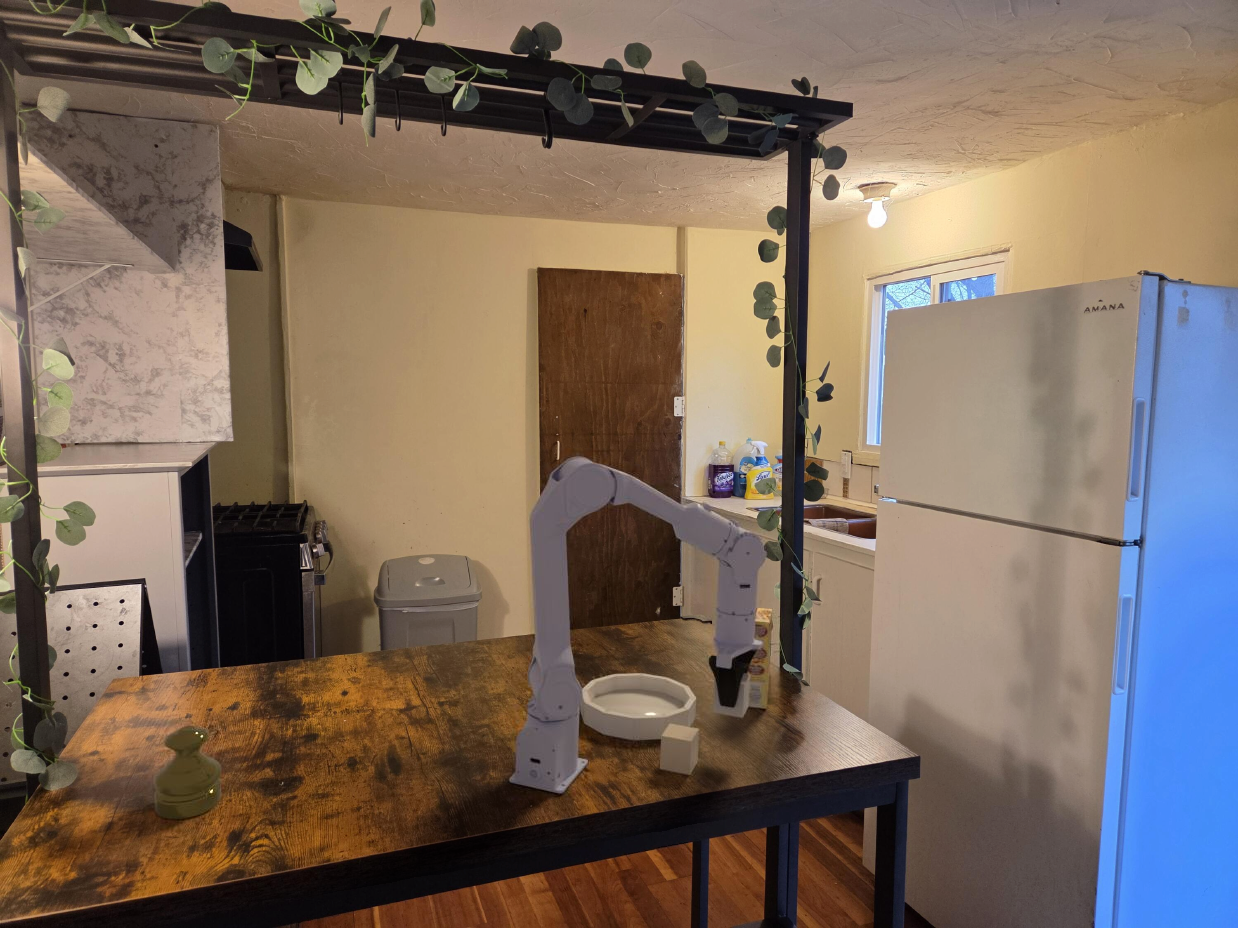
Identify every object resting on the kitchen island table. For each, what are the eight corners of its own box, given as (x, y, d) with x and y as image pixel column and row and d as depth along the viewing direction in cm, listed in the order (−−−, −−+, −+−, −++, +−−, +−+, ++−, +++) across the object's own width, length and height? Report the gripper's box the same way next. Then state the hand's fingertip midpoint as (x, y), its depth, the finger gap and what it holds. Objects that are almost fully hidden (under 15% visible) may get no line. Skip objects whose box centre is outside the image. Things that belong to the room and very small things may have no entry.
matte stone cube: (742, 717, 113) (744, 684, 113) (712, 712, 115) (714, 679, 114) (748, 706, 117) (750, 674, 117) (719, 701, 119) (721, 669, 118)
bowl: (676, 748, 118) (677, 726, 118) (563, 726, 124) (564, 705, 124) (705, 703, 135) (706, 683, 135) (605, 686, 142) (605, 667, 141)
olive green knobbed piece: (142, 821, 94) (140, 742, 93) (171, 789, 101) (169, 715, 100) (206, 820, 95) (205, 741, 94) (231, 788, 102) (229, 715, 101)
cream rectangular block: (689, 775, 110) (691, 741, 110) (659, 769, 112) (661, 735, 111) (697, 761, 114) (699, 728, 114) (668, 755, 116) (670, 723, 115)
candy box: (766, 710, 133) (771, 622, 132) (741, 707, 134) (746, 620, 133) (768, 690, 142) (773, 608, 140) (745, 688, 143) (749, 606, 141)
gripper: (754, 627, 106) (749, 723, 108) (771, 601, 120) (766, 686, 121) (703, 620, 109) (699, 714, 110) (725, 595, 122) (721, 679, 124)
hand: (731, 699), depth 116 cm, fingers closed on matte stone cube, 4 cm apart
